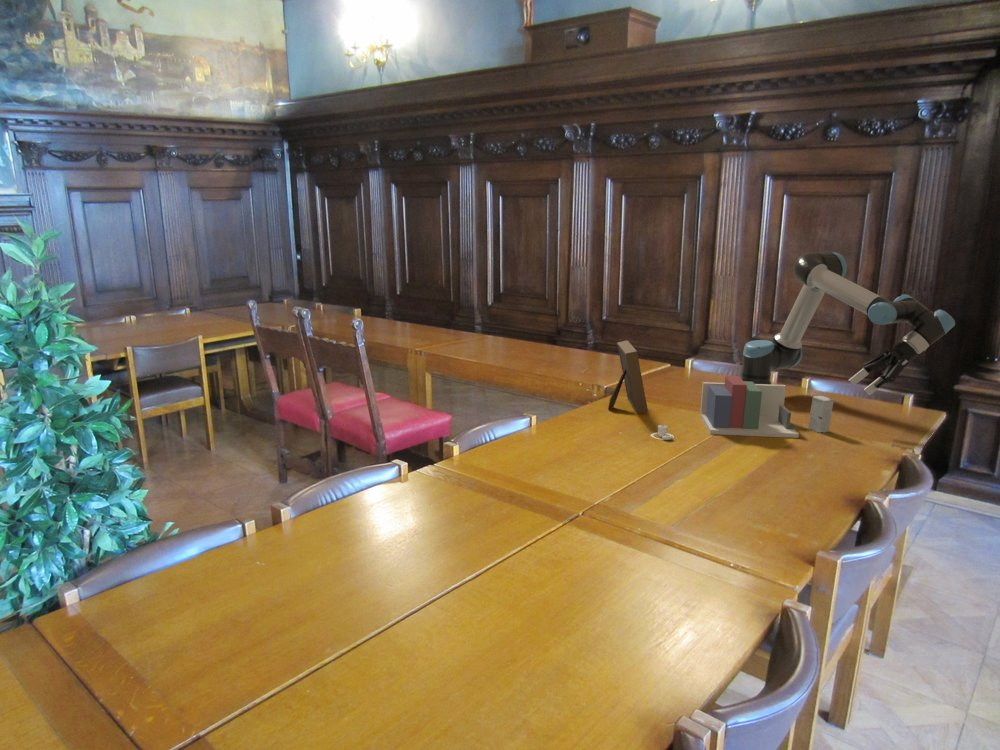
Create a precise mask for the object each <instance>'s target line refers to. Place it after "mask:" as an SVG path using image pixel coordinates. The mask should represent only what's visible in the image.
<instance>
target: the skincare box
mask: <svg viewBox="0 0 1000 750" xmlns="http://www.w3.org/2000/svg"><path fill="white" fill-rule="evenodd" d="M833 407H834V399H831V398H829V397H827V396H823V395H816V396H815V395H814V396H812V401H811V406H810V412H809V413H810V414H809V420H808V426H807V428H808V429H810V430H811V431H814V432H816V433H821V432H823V433H829V432H830V431H829V430H830V425H831V419H832V413H833ZM821 434H822V433H821Z"/></svg>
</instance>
